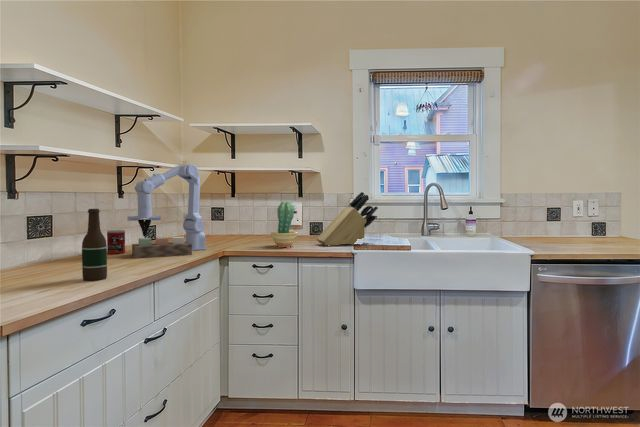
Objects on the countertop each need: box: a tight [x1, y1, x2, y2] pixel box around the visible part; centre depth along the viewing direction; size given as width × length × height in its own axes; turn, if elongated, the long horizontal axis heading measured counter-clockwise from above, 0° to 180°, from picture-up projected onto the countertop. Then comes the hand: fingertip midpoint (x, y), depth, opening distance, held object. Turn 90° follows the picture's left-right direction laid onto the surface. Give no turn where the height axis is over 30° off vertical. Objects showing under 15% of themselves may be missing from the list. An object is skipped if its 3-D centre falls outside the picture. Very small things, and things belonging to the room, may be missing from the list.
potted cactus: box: [270, 201, 299, 248], centre depth 228 cm, size 15×15×25 cm
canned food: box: [106, 229, 126, 255], centre depth 200 cm, size 8×8×11 cm
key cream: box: [171, 236, 186, 244], centre depth 200 cm, size 5×5×4 cm
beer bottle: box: [81, 208, 108, 282], centre depth 141 cm, size 8×8×24 cm
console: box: [131, 240, 193, 259], centre depth 197 cm, size 25×13×5 cm, turn 118°
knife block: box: [316, 191, 379, 246], centre depth 241 cm, size 11×35×31 cm, turn 112°
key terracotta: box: [155, 236, 169, 245], centre depth 197 cm, size 5×5×4 cm
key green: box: [138, 237, 152, 246], centre depth 193 cm, size 5×5×4 cm
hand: (144, 235), depth 193 cm, fingers closed
